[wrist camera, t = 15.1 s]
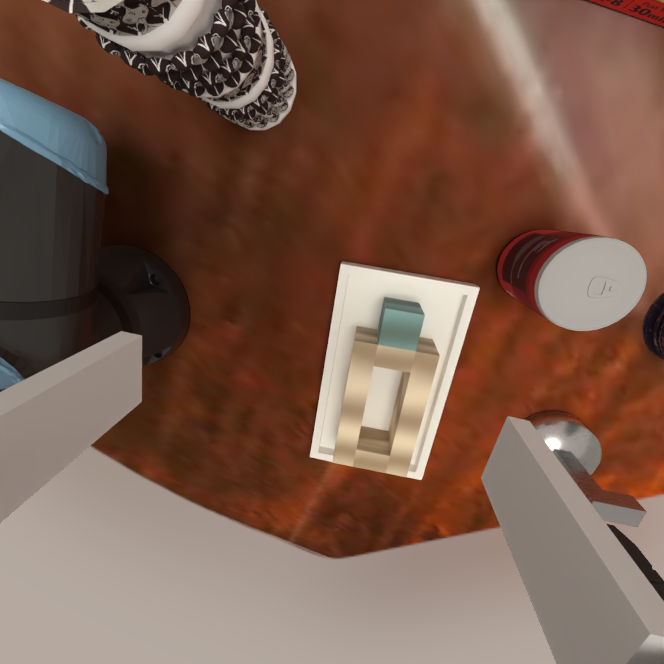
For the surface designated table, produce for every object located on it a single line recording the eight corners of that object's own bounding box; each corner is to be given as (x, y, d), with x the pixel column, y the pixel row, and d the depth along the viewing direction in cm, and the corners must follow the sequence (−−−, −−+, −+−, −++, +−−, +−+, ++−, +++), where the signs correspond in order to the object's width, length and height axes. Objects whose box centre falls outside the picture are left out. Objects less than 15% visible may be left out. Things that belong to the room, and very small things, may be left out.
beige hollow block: (362, 293, 41) (360, 304, 36) (441, 306, 40) (449, 319, 35) (336, 437, 47) (332, 462, 43) (403, 450, 47) (406, 477, 42)
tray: (312, 446, 49) (309, 457, 47) (342, 260, 40) (340, 263, 38) (419, 468, 48) (421, 479, 46) (474, 283, 40) (479, 287, 38)
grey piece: (501, 462, 47) (536, 534, 36) (524, 404, 44) (570, 465, 33) (570, 476, 46) (626, 553, 36) (599, 418, 43) (669, 484, 33)
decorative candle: (216, 17, 34) (-130, -399, 11) (309, 39, 34) (161, -341, 10) (207, 123, 37) (-76, -20, 14) (291, 143, 37) (148, 32, 14)
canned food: (573, 293, 39) (645, 324, 28) (496, 305, 40) (538, 338, 30) (574, 221, 36) (652, 226, 26) (492, 236, 38) (536, 247, 27)
